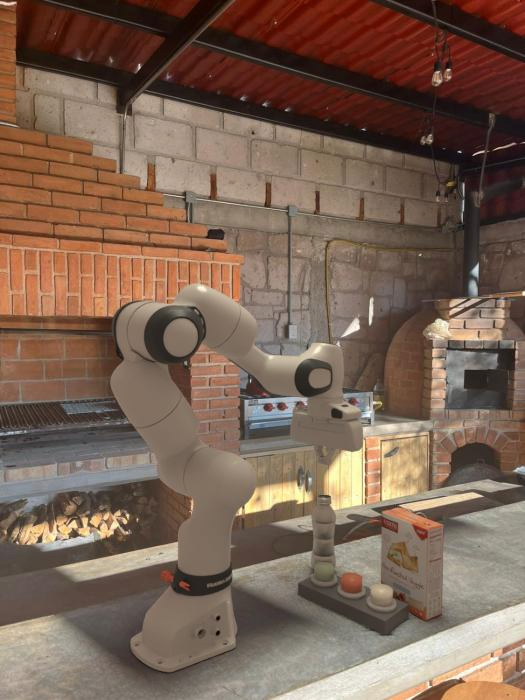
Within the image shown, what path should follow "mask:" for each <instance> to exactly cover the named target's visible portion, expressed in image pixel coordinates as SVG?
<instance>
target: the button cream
mask: <svg viewBox="0 0 525 700" xmlns="http://www.w3.org/2000/svg"><path fill="white" fill-rule="evenodd" d="M370 589H371V601H372V602H373V603H374V604H376V605H380V606H388V605H391V604H392V603H393V589H392V588H391V587H390V586H388V585H385V584H381V583H375V584H372V585H371V586H370Z"/></svg>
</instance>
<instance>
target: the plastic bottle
mask: <svg viewBox="0 0 525 700" xmlns="http://www.w3.org/2000/svg"><path fill="white" fill-rule="evenodd" d="M316 496H317V497H316V504H317V505H316V506H315V507H314V509H313V510H312V512H311V517H310V518H311V525H312V536H313V537H312V538H313V539H312V540H313V541H312V542H313V543H312V552H311V557H310V564H311V568H312V569H313V570H314V565H315V564H316V563H319V562H328V563H331V564H333V565H334V569H335V568H336V566H337V565H336V564H337V559H336V554H335V543H334V542H335V538H334V537H335V529H336V528H335V527H336V521H337V515H336V511H335V510H334V508H333V507H332V506H331V504H332V496H331V495H329V494H321V493H320V494H318V495H316Z"/></svg>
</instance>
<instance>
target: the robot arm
mask: <svg viewBox="0 0 525 700" xmlns="http://www.w3.org/2000/svg"><path fill="white" fill-rule="evenodd" d="M111 319H112V321H111V332H112V337H113V340H114V348H115V354H116V356H117V357H118V358H120V360H122V362H120V364H118V365H117V366H116V367H115V369H114V370H113V372H112V374H111V376H110V380H109V383H110V387H111V388H110V389H111V391H112V394H113V395H114V397H115V399H116V401H117V404H118V405H119V408H121V410H122V412H123V413H124V415H125V416H126V418H127V419H128V420H129V423H131V424H132V426H133V427H134V430H136V431H137V433H138V435H140V437H141V438H142V440H144V442H145V443H146V445H147V446H148V447H149V449H151V452H152V453H153V454H154V457H155V458H156V461H157V463H156V473H157V477H158V478H159V480H160V481H161V482H162V483H163V484H164V485H166V486H167V487H168V488H169V489H171V490H172V491H173V492H175V493H178V494H180V495H183V496H185V497H188V498H190V499H191V500H192V502H193V505H192V511H191V514H190V517H189V518H187V519H186V520H185V521H183V522H182V523H181V525H180V526H179V528H178V532H177V563H176V565H175V568H174V571H173V573H172V572H170V571H169V570H166V569H164V570H163V571H162V572H161V574H160V578H161V579H160V580H162V581H164V582H166V583H167V584H168V583H170V585H169V587H167V588H166V590H165V591H164V592H163V593H162V594H161V596H160V597H159V598H158V599H157V600H156V601H155V602H154V604H153V605H152V606H151V607H150V608H149V609H148V610H147V611H146V613H145V615H144V618H143V622H142V630H141V631H140V632H138V633H137V634H135V635H134V636H133V637H131V638H130V651H131V652H132V654H133V655H134V656H135V657H136V659H138V660H139V661H141V662H142V663H143V664H144V665H146V666H148V667H150V668H151V669H154V670H156V671H161V672H164V673H173V672H176V671H178V670H181V669H185V668H186V667H189V666H192V665H195V664H196V663H199V662H203V661H204V660H207V659H210V658H213V657H215V656H218V655H220V654H223V653H226V652H229V651H231V650H234V649H235V648H236V647H237V640H236V636H237V634H238V624H237V622H236V618H235V614H234V607H233V600H232V599H233V597H232V587H231V586H232V585H231V584H232V583H233V563H232V561H231V550H232V549H231V548H232V547H231V546H232V545H231V544H232V530H233V526H234V521H235V519H236V516H237V514H238V512H239V511H240V509H241V508H243V507H244V506H246V505H247V504H248V503H249V502H250V501H251V499H252V497H253V496H254V494H255V492H256V488H257V480H258V479H257V478H258V477H257V473H256V469H255V467H254V465H252V464H251V462H249V461H248V460H246V459H244V458H243V457H241V456H239V455H237V454H236V453H234V452H230V451H225V450H221V449H217V448H214V447H211V446H209V445H207V444H206V443H204V441H203V440H202V439H201V438H200V435H199V432H200V428H201V422H200V421H201V420H200V417H199V416H198V415H197V414H196V412H195V410H194V409H193V407H192V406H191V404H190V403H189V401H188V400H187V398H186V397H185V396H184V394H183V393H182V391H181V390H180V389H179V387H178V386H177V384H176V383H175V382H174V380H173V379H172V377H171V374H170V371H169V365H178V364H182V363H185V362H187V361H189V360H190V359H191V358H192V357H194V355H195V354H196V353H197V351H199V349H200V347H201V346H202V345H203V346H205V347H206V348H208V349H209V350H211V351H213V352H214V353H217V354H218V355H219V356H220V355H221V356H222V357H224V358H225V359H226V360H228V361H229V362H231V363H233V364H234V365H235V366H237V367H238V368H239V369H241V370H242V371H244V373H247V374H248V375H249V376H250V378H251V379H252V380H253V382H254V383H255V384H256V386H257V388H258V389H259V390H260V391H261V392H262V393H264V394H267V395H271V396H274V395H277V396H288V397H295V398H301V399H302V398H304V399H307V401H306V402H307V403H306V405H303V404H297V405H296V406H294V408H293V409H292V417H291V421H290V422H291V423H290V429H289V430H290V431H289V436H290V438H291V440H292V441H295V442H300V443H305V444H309V445H313V450H314V452H315V454H316V457H317V464H321V465H325V466H330V465H332V458H333V456H334V455H335V452H336V451H337V450H340V451H345V452H351V453H354V452H359V451H360V450H361V449H362V448H363V447H364V430H363V429H364V428H363V423H362V420H360V419H359V418H361V417H362V410H361V409H360V408H359V407H357V406H354V405H353V404H351V403H349V402H347V401H346V400H344V395H345V394H344V392H343V384H344V383H343V382H344V379H345V367H344V355H343V350H342V348H341V346H339V345H338V344H336V343H332V342H326V341H315V342H311V344H310V346H309V347H308V349H307V350H306V351H304V352H302V353H301V354H298V355H280V354H274V353H265V352H264V351H262V350H261V349H260V348H259V347H257V346H256V345H255V343H256V341H257V338H258V332H259V330H258V329H259V328H258V323H257V319H256V318H255V317H254V316H253V315H252V314H251V312H250V311H249V310H247V309H246V308H245V307H244V306H242V305H241V304H240V303H238V302H237V301H235V300H234V299H232V297H229V296H228V295H226V294H224V293H222V292H220V291H219V290H217V289H214V288H212V287H210V286H208V285H206V284H203V283H199V282H198V283H190V284H187V285H186V286H184V287H183V288H182V289H181V290H180V291H179V292H178V294H177V295H176V296H175V299H174V301H172V303H166V302H165V303H164V302H161V301H157V300H156V301H155V300H151V301H150V300H143V299H142V300H133V301H129V302H126V303H125V304H123V305H122V306H120V307H119V308H118V309H117V310H116V312H115V313H114V314H113V316H112V318H111ZM324 448H325V451H326V455H325V454H324V451H323V449H324Z"/></svg>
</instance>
